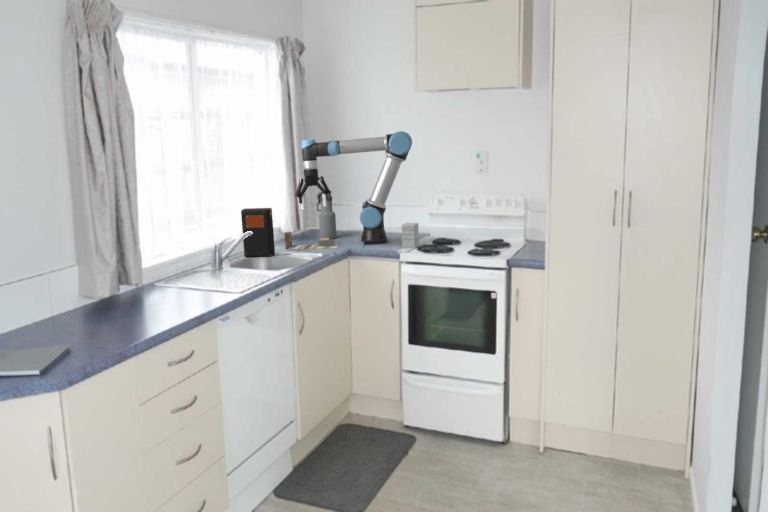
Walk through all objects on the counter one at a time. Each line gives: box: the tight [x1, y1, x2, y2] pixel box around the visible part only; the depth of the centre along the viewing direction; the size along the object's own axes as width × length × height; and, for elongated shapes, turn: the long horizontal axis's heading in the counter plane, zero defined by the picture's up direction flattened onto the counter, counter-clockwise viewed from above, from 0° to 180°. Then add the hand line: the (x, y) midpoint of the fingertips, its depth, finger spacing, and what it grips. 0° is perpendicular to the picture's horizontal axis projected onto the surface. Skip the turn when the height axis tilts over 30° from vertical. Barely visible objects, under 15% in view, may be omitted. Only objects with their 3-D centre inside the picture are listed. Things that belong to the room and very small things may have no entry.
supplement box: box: [401, 222, 420, 249], centre depth 369 cm, size 7×7×13 cm
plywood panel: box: [293, 243, 341, 250], centre depth 375 cm, size 24×12×1 cm, turn 86°
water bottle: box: [316, 190, 337, 239], centre depth 406 cm, size 10×10×28 cm
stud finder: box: [318, 237, 336, 246], centre depth 377 cm, size 8×4×4 cm, turn 86°
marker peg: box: [284, 232, 293, 250], centre depth 378 cm, size 3×3×9 cm
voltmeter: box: [240, 207, 276, 258], centre depth 359 cm, size 16×9×25 cm, turn 84°
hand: (314, 207), depth 374 cm, fingers open, 13 cm apart
